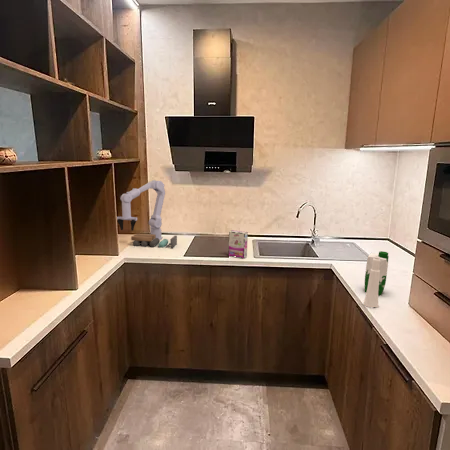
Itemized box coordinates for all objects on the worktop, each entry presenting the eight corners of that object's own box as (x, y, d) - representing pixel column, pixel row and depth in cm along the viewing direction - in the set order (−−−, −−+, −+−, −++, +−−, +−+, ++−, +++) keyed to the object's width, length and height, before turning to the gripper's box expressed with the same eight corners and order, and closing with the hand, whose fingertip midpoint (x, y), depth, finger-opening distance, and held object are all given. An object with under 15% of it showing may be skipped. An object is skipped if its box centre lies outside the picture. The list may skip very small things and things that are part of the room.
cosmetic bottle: (375, 309, 140) (381, 259, 136) (361, 304, 144) (366, 256, 140) (380, 305, 144) (386, 257, 140) (366, 300, 149) (372, 253, 144)
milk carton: (382, 297, 153) (387, 255, 149) (361, 292, 158) (366, 252, 154) (385, 291, 160) (390, 251, 156) (365, 286, 165) (370, 248, 161)
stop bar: (174, 244, 236) (174, 235, 235) (176, 244, 236) (176, 235, 235) (170, 248, 225) (170, 239, 224) (172, 248, 225) (172, 239, 224)
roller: (165, 245, 226) (161, 241, 226) (161, 249, 227) (157, 245, 227) (169, 241, 236) (165, 237, 236) (165, 245, 237) (161, 241, 236)
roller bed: (138, 242, 239) (138, 237, 238) (170, 244, 236) (170, 238, 235) (132, 245, 229) (132, 240, 228) (166, 247, 226) (166, 242, 225)
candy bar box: (247, 257, 210) (248, 231, 207) (244, 259, 206) (244, 233, 202) (231, 254, 215) (232, 229, 212) (228, 256, 211) (228, 231, 208)
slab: (136, 236, 238) (136, 233, 238) (155, 238, 236) (155, 234, 236) (131, 240, 228) (131, 236, 228) (150, 241, 227) (150, 237, 226)
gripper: (114, 211, 227) (114, 230, 230) (134, 212, 225) (134, 231, 228) (118, 209, 234) (119, 228, 236) (138, 210, 232) (138, 229, 235)
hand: (127, 230), depth 233 cm, fingers open, 7 cm apart
